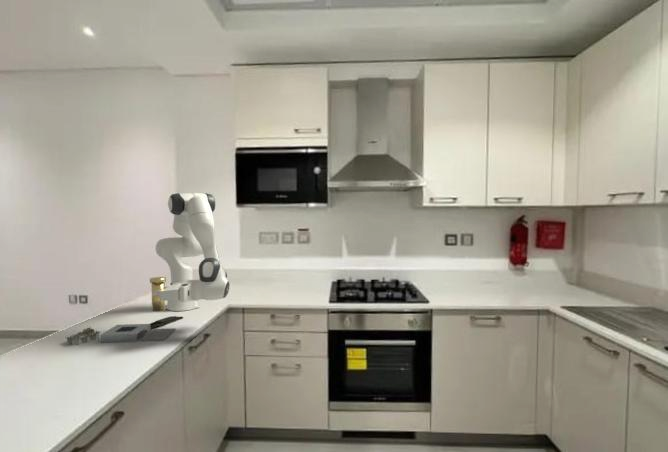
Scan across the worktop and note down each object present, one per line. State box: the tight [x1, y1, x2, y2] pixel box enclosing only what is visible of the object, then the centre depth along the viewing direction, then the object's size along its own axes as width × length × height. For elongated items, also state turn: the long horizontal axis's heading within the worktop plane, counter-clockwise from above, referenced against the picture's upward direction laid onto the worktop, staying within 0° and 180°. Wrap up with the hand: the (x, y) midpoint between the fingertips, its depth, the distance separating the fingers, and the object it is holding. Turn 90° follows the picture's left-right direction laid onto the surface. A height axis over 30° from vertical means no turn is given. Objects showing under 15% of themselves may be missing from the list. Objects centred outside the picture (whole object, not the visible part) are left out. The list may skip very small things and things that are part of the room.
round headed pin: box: [149, 276, 167, 312], centre depth 156 cm, size 6×6×14 cm
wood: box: [149, 315, 184, 330], centre depth 173 cm, size 22×7×3 cm, turn 163°
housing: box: [99, 323, 152, 343], centre depth 155 cm, size 14×14×3 cm
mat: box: [140, 327, 176, 342], centre depth 156 cm, size 14×9×1 cm, turn 6°
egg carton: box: [64, 326, 101, 346], centre depth 150 cm, size 11×8×4 cm
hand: (156, 291), depth 156 cm, fingers closed on round headed pin, 5 cm apart
